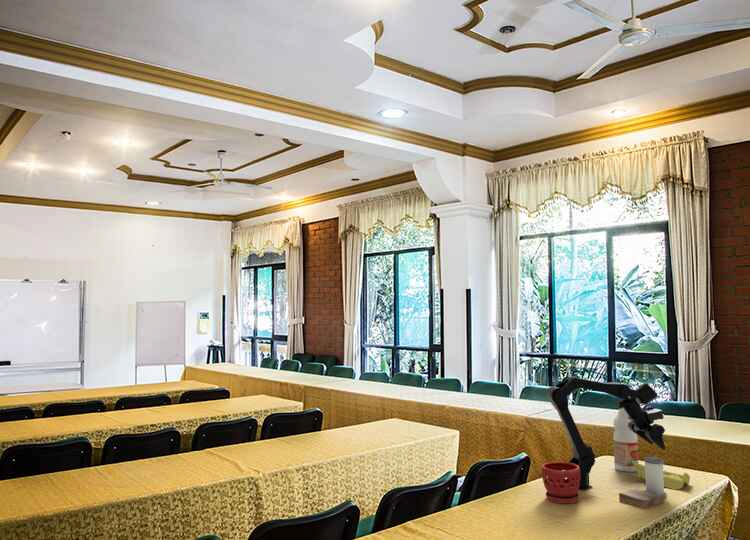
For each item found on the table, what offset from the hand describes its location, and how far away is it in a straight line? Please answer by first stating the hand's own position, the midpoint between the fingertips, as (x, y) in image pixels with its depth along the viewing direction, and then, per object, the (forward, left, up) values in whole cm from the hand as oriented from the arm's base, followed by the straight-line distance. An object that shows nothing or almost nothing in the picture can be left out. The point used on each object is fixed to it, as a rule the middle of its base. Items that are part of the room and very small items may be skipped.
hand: (658, 446), depth 225 cm
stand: (-23, -8, -15) cm, 28 cm away
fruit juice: (+10, +22, -15) cm, 29 cm away
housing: (-12, -6, -15) cm, 20 cm away
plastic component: (+6, +3, -15) cm, 17 cm away
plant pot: (-45, +8, -15) cm, 48 cm away
